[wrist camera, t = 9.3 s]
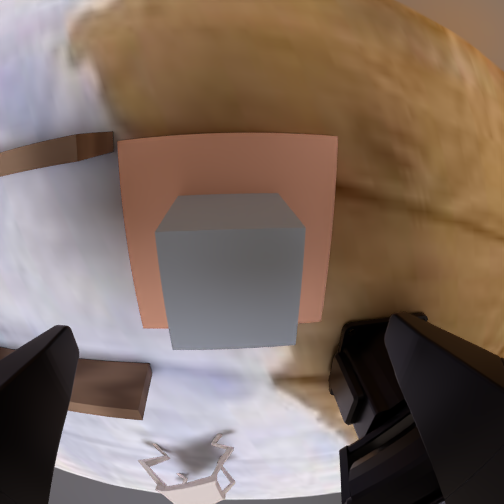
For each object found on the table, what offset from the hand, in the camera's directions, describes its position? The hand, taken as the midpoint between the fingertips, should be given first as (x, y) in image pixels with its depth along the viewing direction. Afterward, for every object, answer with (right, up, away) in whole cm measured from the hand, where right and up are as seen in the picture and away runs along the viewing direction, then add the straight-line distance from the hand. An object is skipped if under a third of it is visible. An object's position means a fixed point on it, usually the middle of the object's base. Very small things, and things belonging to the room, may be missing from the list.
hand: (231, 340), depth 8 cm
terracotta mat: (-1, +3, +8) cm, 8 cm away
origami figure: (-5, -17, +16) cm, 24 cm away
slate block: (-1, +3, +7) cm, 7 cm away
